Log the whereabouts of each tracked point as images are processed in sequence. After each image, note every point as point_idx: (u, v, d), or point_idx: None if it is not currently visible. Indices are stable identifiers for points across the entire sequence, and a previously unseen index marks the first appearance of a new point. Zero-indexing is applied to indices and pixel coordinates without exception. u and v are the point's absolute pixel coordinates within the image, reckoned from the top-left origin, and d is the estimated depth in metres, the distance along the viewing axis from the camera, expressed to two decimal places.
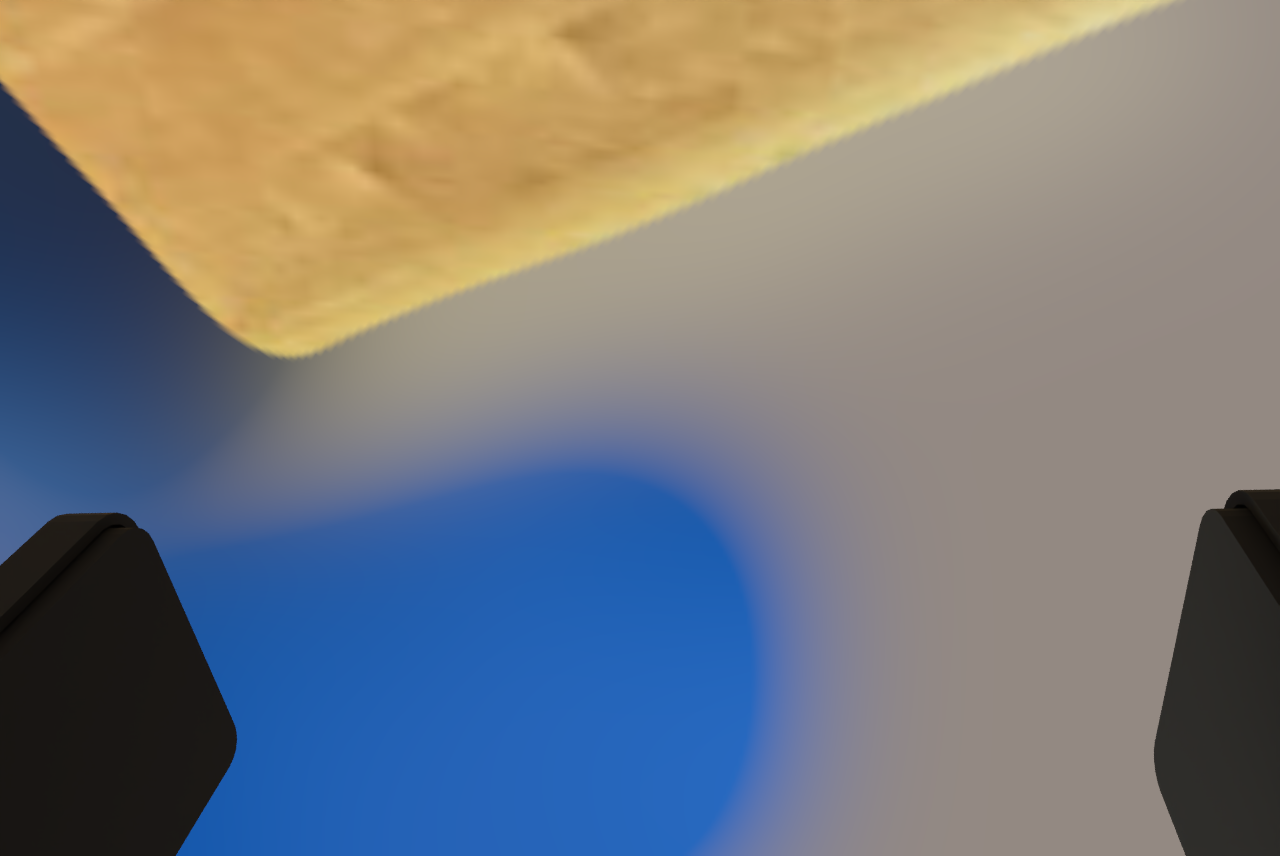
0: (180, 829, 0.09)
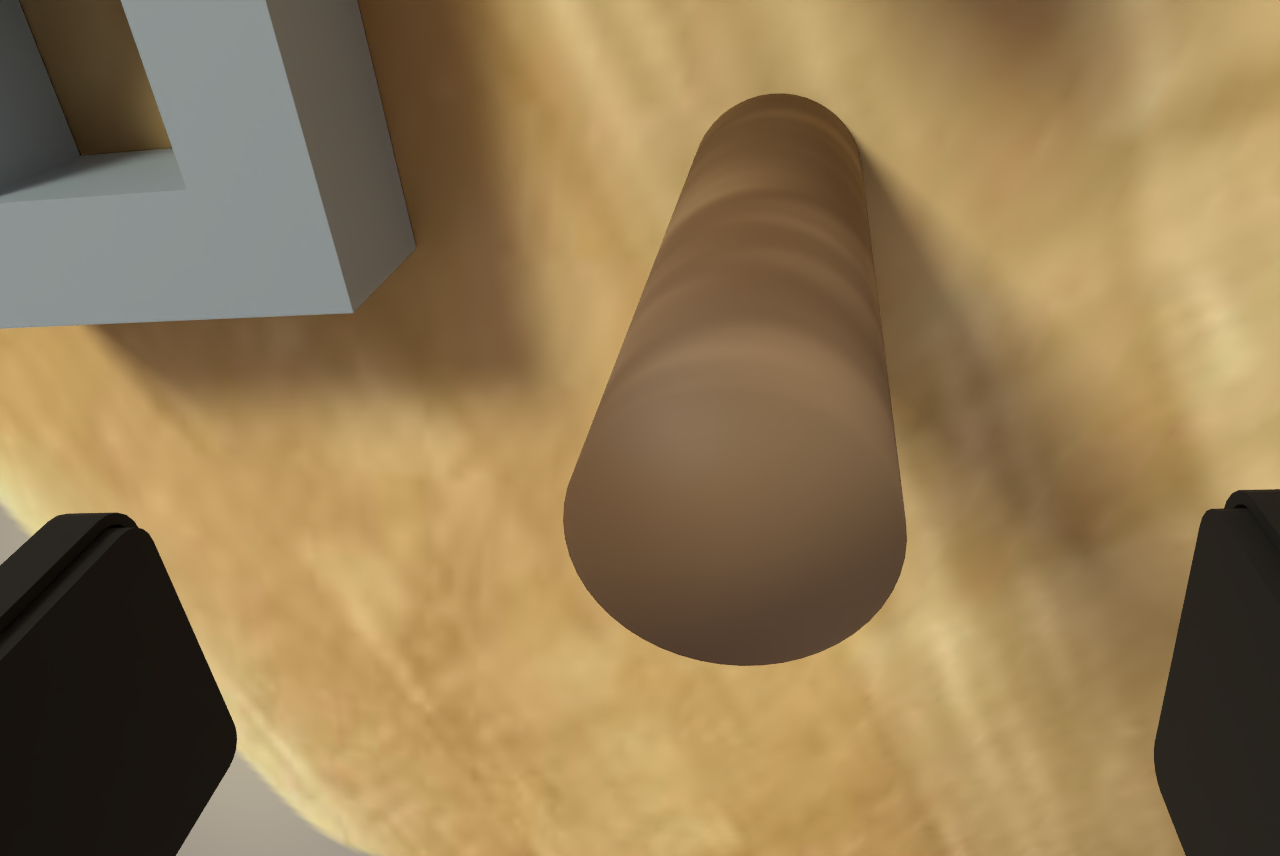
0: (180, 829, 0.09)
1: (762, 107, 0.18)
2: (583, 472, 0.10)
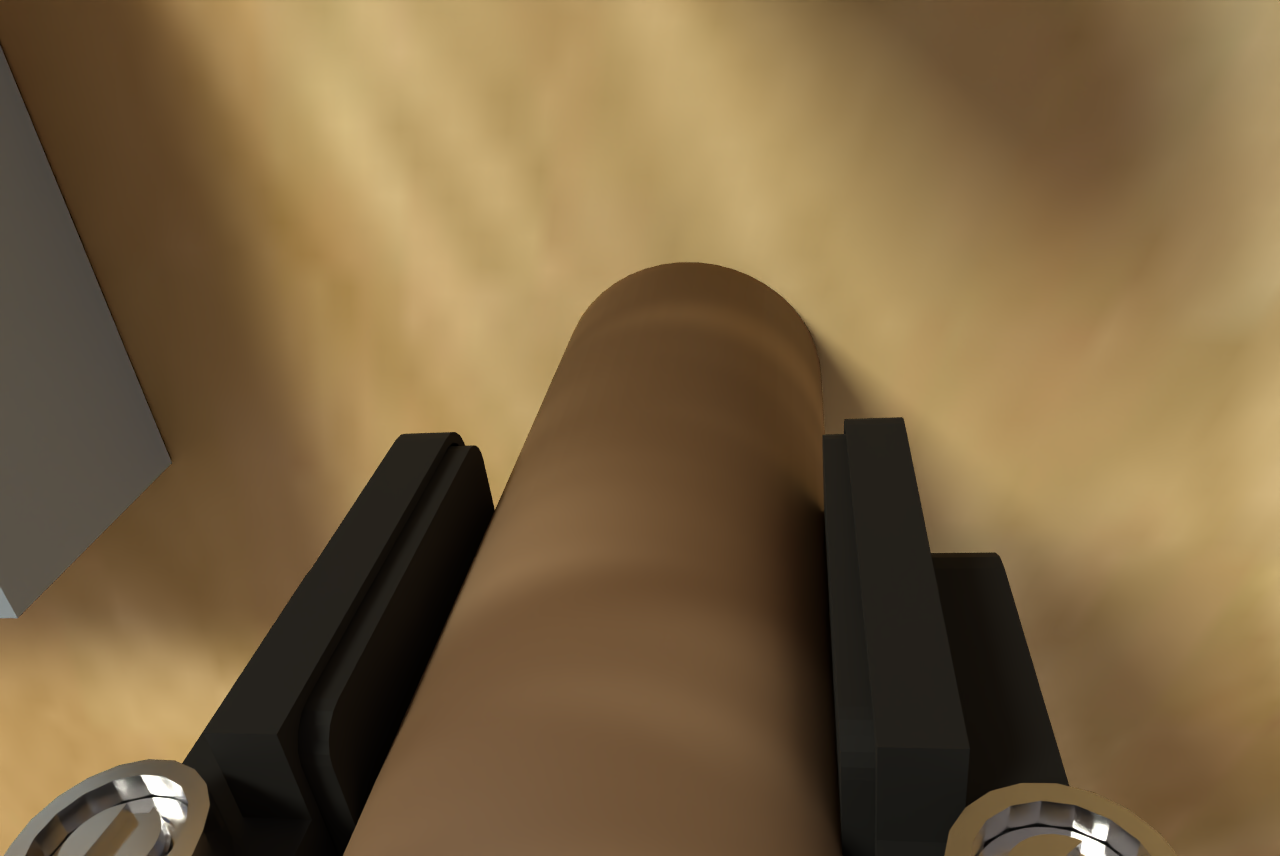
0: None
1: (659, 296, 0.11)
2: None
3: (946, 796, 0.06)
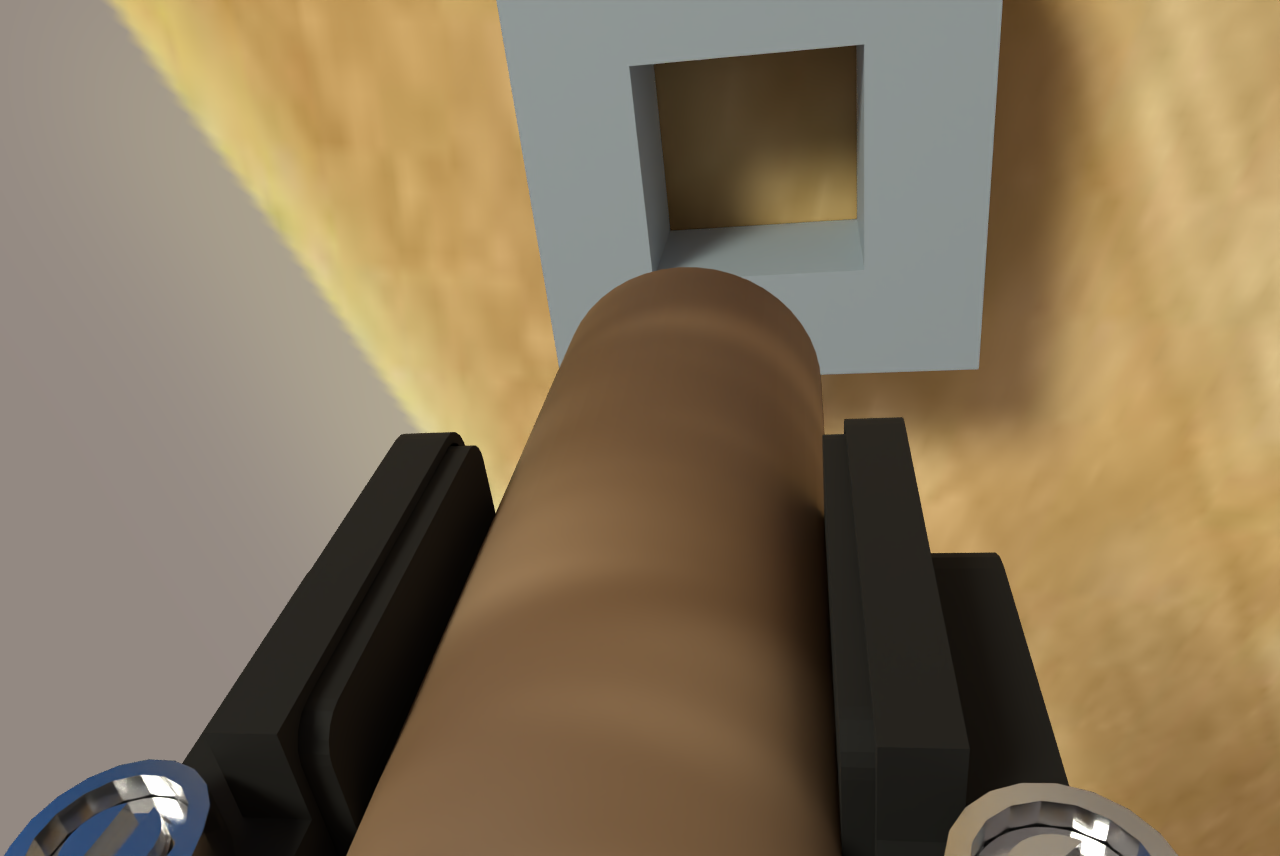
0: None
1: (659, 301, 0.11)
2: None
3: (946, 796, 0.06)
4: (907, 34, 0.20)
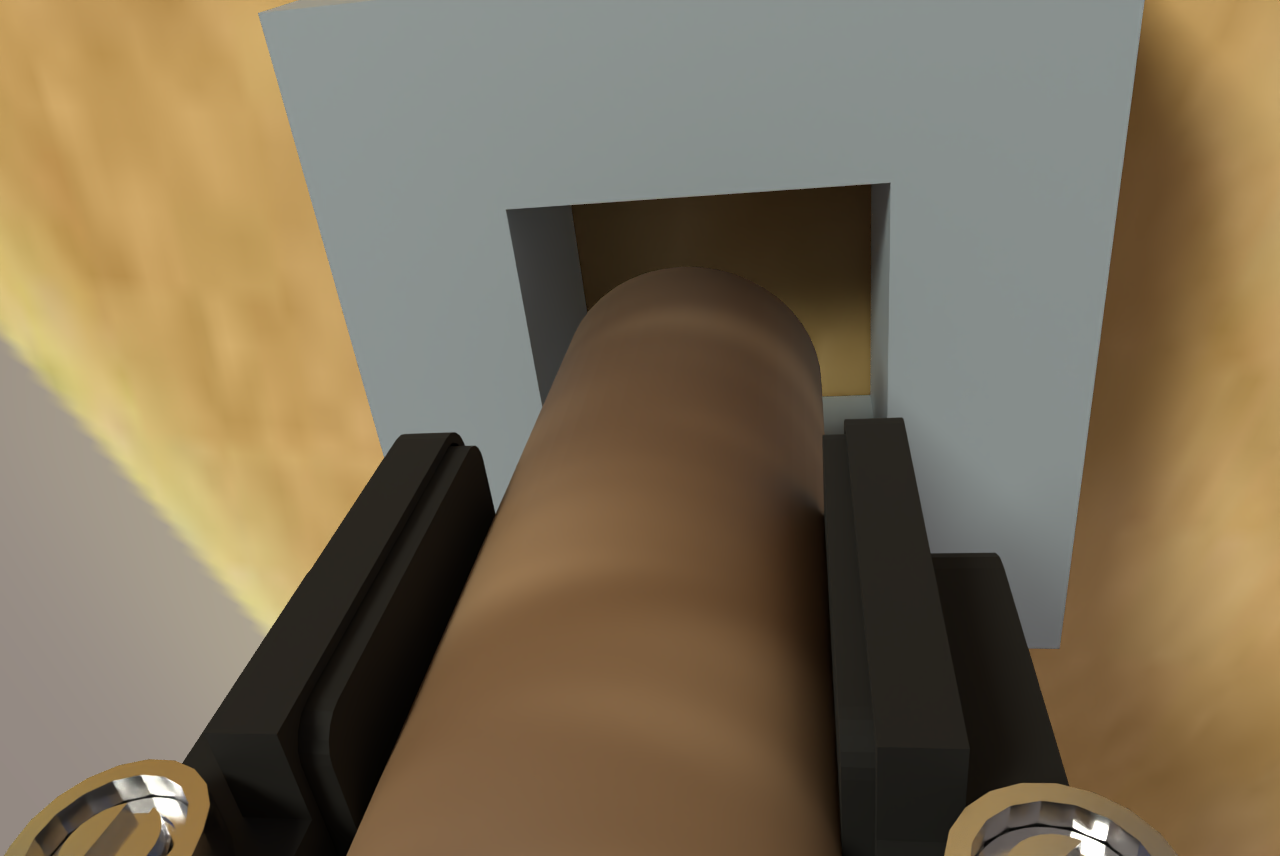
0: None
1: (659, 300, 0.11)
2: None
3: (946, 797, 0.06)
4: (963, 168, 0.12)
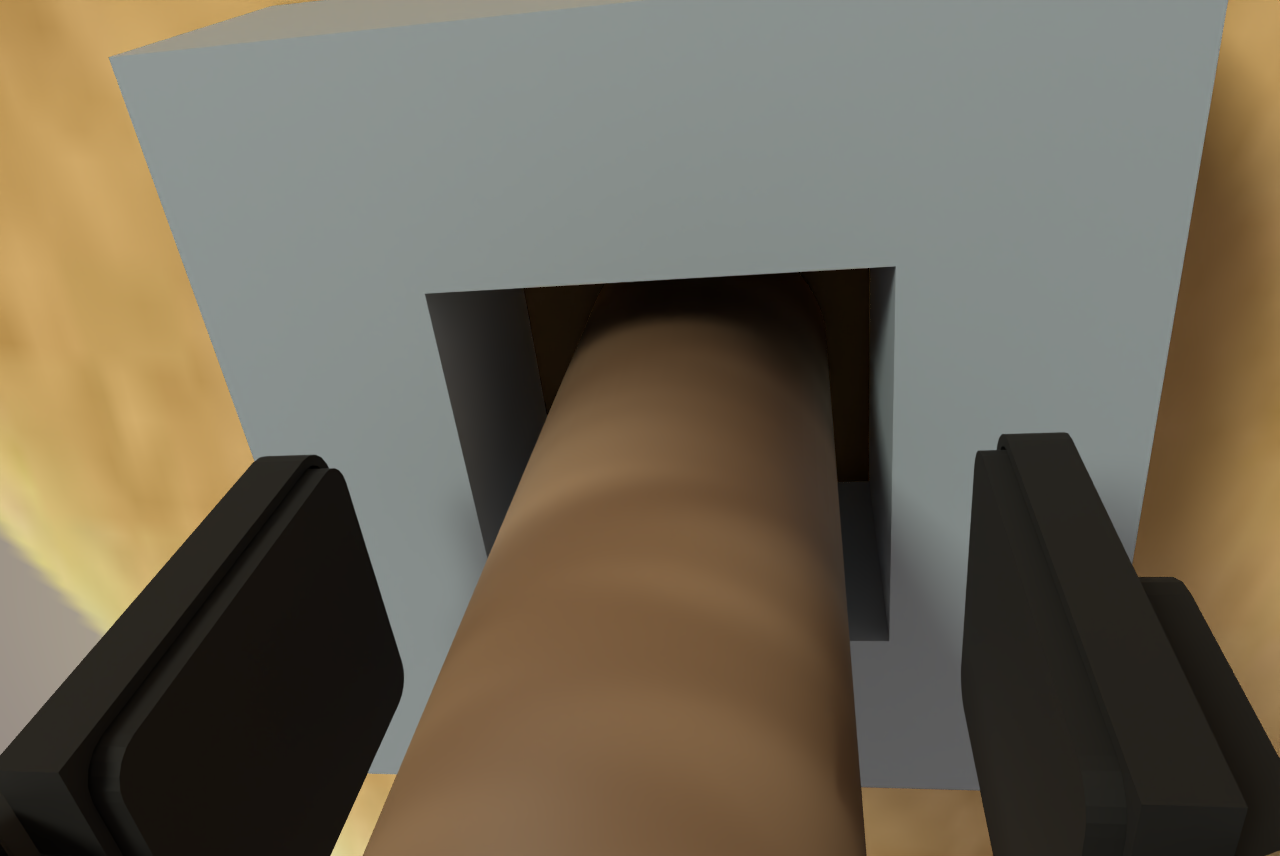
0: (367, 757, 0.10)
1: None
2: None
3: None
4: (986, 249, 0.09)
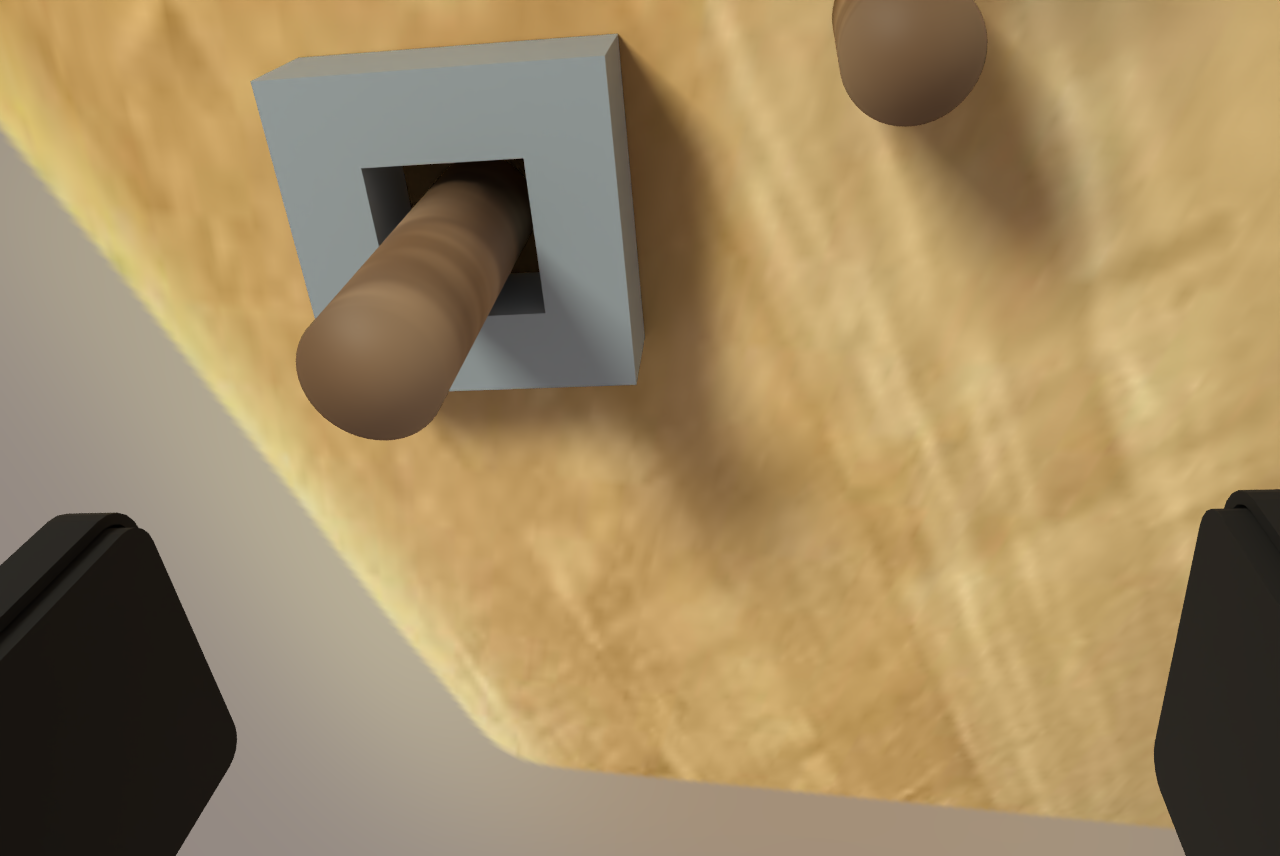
0: (180, 829, 0.09)
1: (465, 164, 0.31)
2: (302, 346, 0.22)
3: None
4: (551, 152, 0.28)
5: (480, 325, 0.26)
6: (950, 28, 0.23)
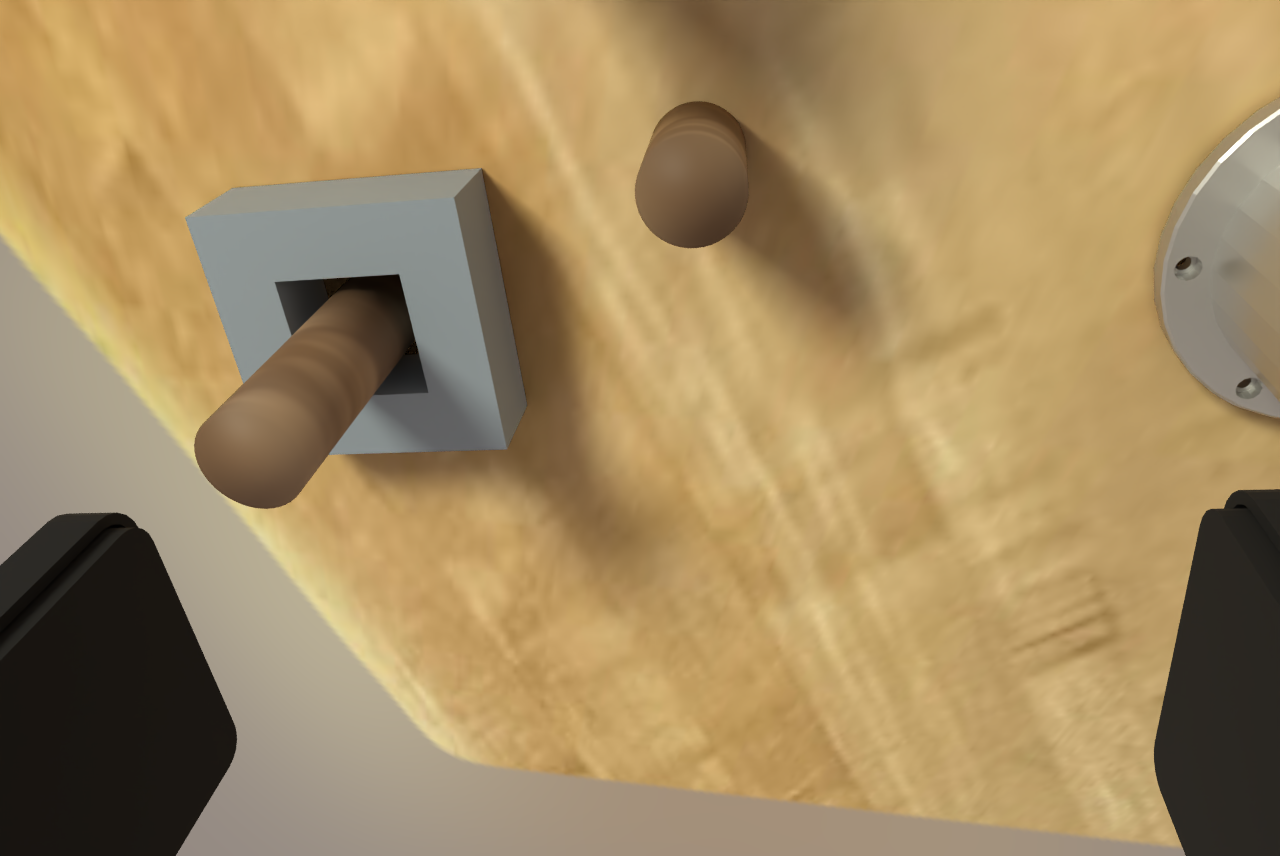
0: (180, 829, 0.09)
1: None
2: (198, 439, 0.29)
3: None
4: (420, 269, 0.35)
5: (352, 414, 0.33)
6: (714, 169, 0.29)
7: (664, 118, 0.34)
